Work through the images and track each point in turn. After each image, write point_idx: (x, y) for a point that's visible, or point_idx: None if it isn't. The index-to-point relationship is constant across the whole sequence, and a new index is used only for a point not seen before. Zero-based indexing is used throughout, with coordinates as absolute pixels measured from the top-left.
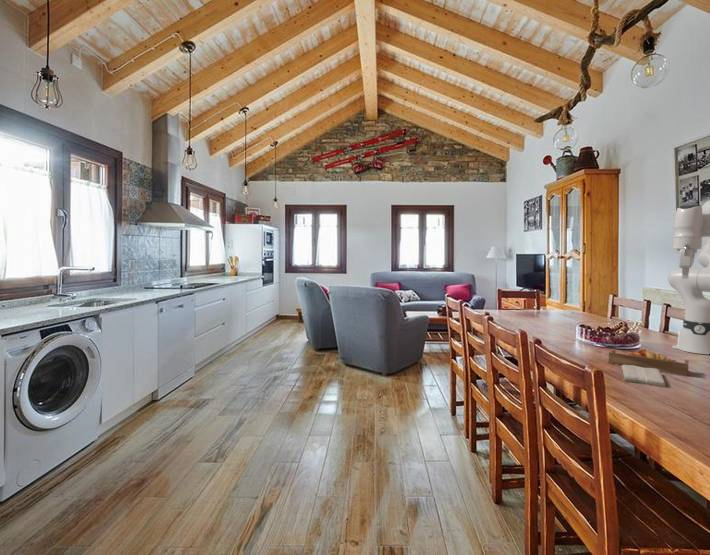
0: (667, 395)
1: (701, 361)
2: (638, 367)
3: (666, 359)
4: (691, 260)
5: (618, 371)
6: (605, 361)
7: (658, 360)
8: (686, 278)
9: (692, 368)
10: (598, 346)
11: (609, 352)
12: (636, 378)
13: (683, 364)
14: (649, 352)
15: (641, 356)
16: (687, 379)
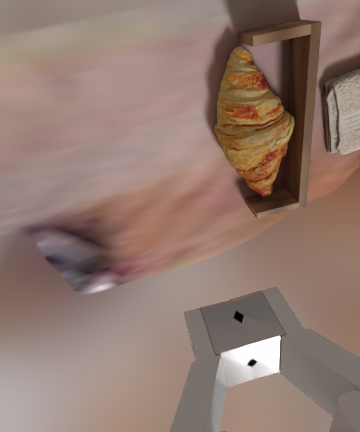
0: None
1: (28, 38)
2: (346, 123)
3: (262, 93)
4: None
5: None
6: None
7: (314, 99)
8: (277, 292)
9: (178, 34)
10: (116, 281)
11: (303, 206)
12: None
13: (319, 33)
14: (278, 138)
15: (284, 147)
16: (334, 10)
